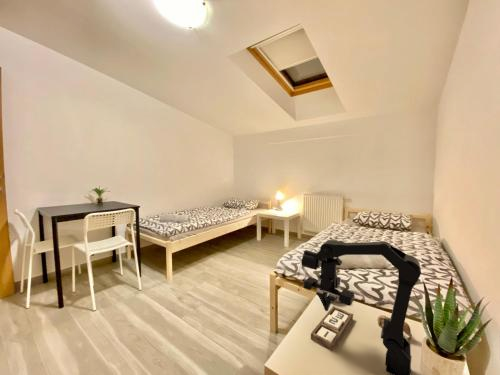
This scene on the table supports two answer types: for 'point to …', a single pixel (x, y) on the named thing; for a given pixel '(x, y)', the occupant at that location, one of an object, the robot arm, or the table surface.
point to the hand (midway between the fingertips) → (326, 310)
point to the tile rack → (339, 333)
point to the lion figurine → (405, 327)
